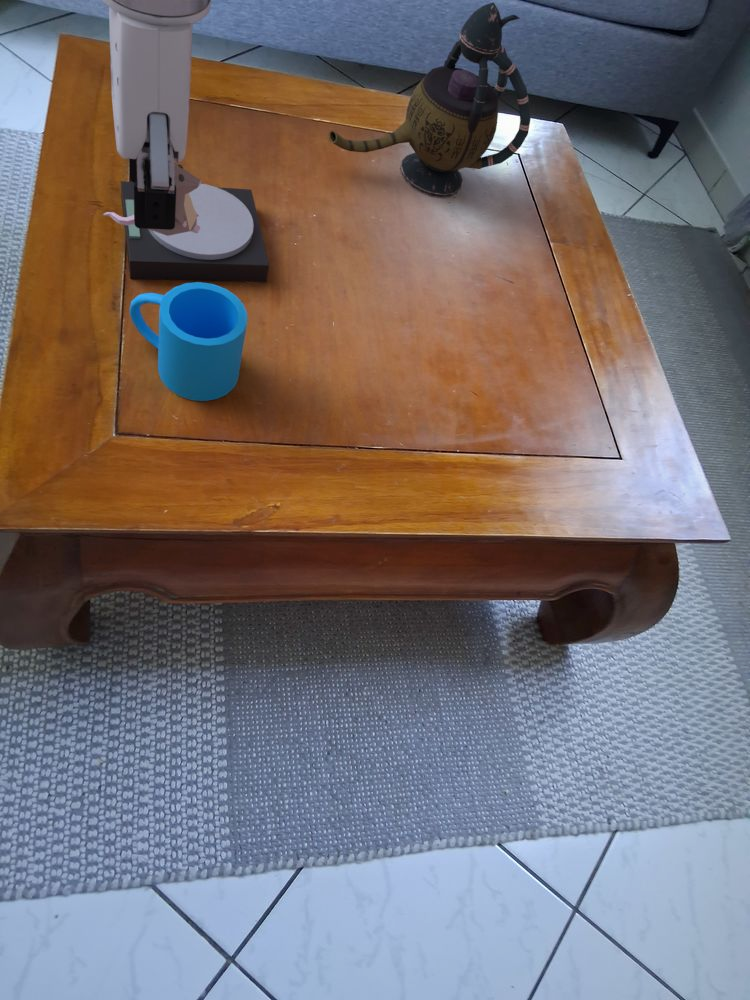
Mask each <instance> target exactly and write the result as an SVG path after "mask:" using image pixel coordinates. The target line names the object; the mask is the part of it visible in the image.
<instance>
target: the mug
mask: <svg viewBox="0 0 750 1000" xmlns="http://www.w3.org/2000/svg"><path fill="white" fill-rule="evenodd" d="M144 304H153V305H159V312H158V314H159V315H158V334H157V333H155V332H154V330H153V329H151V327H150V326H149V325H148V324H147V322H146V320H145V319H144V317H143V315H142V311H141V307H142V306H143V305H144ZM128 311H129V315H130V320H131V322H132V323H133V325H134V327H135V328H136V331H138V333H140V335H141V336H142V337H143V338H144V339H145V340H146V341H147V342H148V343H150V344H151V345H152V346H153V347H154V348H155V349H158V351H157V371H158V372H157V373H158V376H159V378H160V380H161V382H162V383H163V384H164V385H165V387H166V389H168V390H169V391H170V392H172V393H174V395H176V396H178V397H181V398H183V399H187V400H189V401H196V402H198V401H199V402H208V401H214V400H215V401H216V400H218V399H220V398H222V397H225V396H226V395H228V394H229V393H230V392H231V391H233V389H234V388H235V387H236V385H237V382H238V381H239V377H240V370H241V363H242V357H243V350H244V345H245V339H246V334H247V333H246V332H247V326H248V312H247V310H246V307H245V305H244V303H243V302H242V301H241V300H240V299H239V297H238V296H237V295H235V294H234V293H233V292H232V291H230V290H228V289H227V288H226V287H222V286H221V285H216V284H214V283H208V282H201V281H196V282H186V283H182V284H180V285H177V286H174V287H173V288H171V289H170V290H169V291H167V292H166V293H165V294H162V293H161V294H160V293H156V292H146V293H140V294H138V295H137V296H135V297H134V298H133V299H132V300H131V302H130V305H129V310H128Z"/></svg>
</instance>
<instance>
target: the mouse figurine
mask: <svg viewBox="0 0 750 1000" xmlns="http://www.w3.org/2000/svg"><path fill="white" fill-rule="evenodd" d="M200 184H202V179H201V178H199V177H197V176H196V175H194V174H193V173H191V172H190V171H188V170H186V169H185V168H184V167H183V165H182V164H180V163H177V162H175V185H176V212H175V228H174V229H172V230H165V229H149V230H152V231H155V232H158V233H161V234H164V235H167V236H170V235H175V234H179V233H184V232H189V231H191V232H194V233H198V231H199V230H200V226H199V225H197V217H199V214H198V213H197V212H196V210H195V209H194V207H193V203H192V200H191V197H190V195H189V192H191V191H193V190H195V189H196V188H198V186H199V185H200ZM102 216H104V217H110V218H111V219H112V220H113V221H114V222H115V223H117V224H119V225H121V226H124V225H127V226H128V225H131V224H135V222H134V215H132V216H129V217H123V216H121V215H120V214H117V213H116V212H114V211H113V212H112V211H106V212H104V213H103V215H102Z"/></svg>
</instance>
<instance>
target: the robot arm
mask: <svg viewBox="0 0 750 1000" xmlns="http://www.w3.org/2000/svg"><path fill="white" fill-rule="evenodd" d="M101 2H103V3H104V4H105V5H106V6H107V7H109V9H108V12H109V14H108V16H109V17H108V24H109V25H108V26H109V28H108V29H109V56H110V57H109V59H110V77H111V78H110V81H111V103H112V104H111V105H112V116H113V126H114V136H115V145H116V151H117V153H118V156H120V157H121V158H122V159H124V160H127V159H129V160H128V167H129V180H130V182H134V222H135V226H136V227H137V228H144V229H165V230H172V229H174V228H175V212H176V185H175V163H176V164H180V163H181V162H182V161H183V160H184V159H185V158H186V152H187V145H188V144H187V143H188V142H187V141H188V134H189V133H188V131H189V119H190V118H189V116H190V100H191V83H192V82H191V80H192V57H193V56H192V54H193V30H194V29H193V27H194V26H193V25H194V24H195V23H197V22H199V21H201V20H203V19H204V18H205V17H206V16H207V15H208V13H209V12H210V11H211V4H212V0H101Z"/></svg>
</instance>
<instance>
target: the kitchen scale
mask: <svg viewBox="0 0 750 1000" xmlns="http://www.w3.org/2000/svg"><path fill="white" fill-rule="evenodd" d="M189 195H190V197H191V200H192V203H193V207H194V209H195V210H196V212H197V213H198V214H199V217H197V225H199V226H200V230H199V231H198V233H194V232H191V231H189V232H184V233H179V234H175V235H170V236H167V235H164V234H161V233H158V232H155V231H152V230H149V229H144V228H137V227H136V226H135V224H131V225H128V226H127V225H123V226H124V234H125V235H124V236H125V243H126V244H125V245H126V250H127V251H126V254H127V262H128V271H129V278H130V279H132V280H133V279H136V280H138V279H139V280H141V279H142V280H172V281H173V280H174V281H175V280H176V281H178V280H179V281H216V282H218V281H219V282H255V283H256V282H258V283H259V282H261V283H266V282H267V280H268V273H269V269H270V264H269V259H268V255H267V250H266V246H265V241H264V238H263V233H262V229H261V224H260V220H259V216H258V212H257V208H256V203H255V199H254V195H253V191H252V189H247V188H236V187H235V188H232V187H219V186H214V185H209V184H206V183H201V184H200V185H199V186H198V188H196V189H195V190H193V191H191V192H189ZM120 198H121V207H122V209H121V210H122V215H123V216H122V217H129V216H132V215H134V182H132V181H125V180H124V181H123V180H121V181H120Z"/></svg>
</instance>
